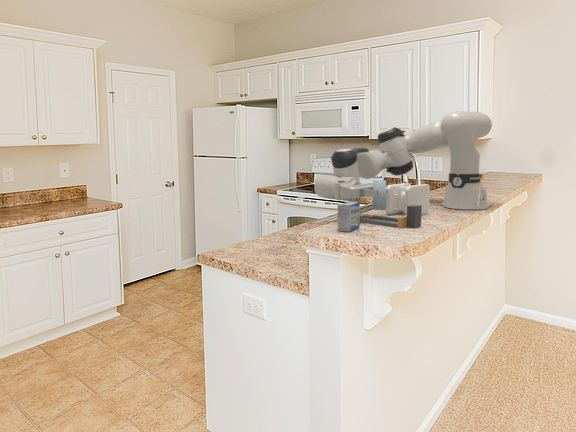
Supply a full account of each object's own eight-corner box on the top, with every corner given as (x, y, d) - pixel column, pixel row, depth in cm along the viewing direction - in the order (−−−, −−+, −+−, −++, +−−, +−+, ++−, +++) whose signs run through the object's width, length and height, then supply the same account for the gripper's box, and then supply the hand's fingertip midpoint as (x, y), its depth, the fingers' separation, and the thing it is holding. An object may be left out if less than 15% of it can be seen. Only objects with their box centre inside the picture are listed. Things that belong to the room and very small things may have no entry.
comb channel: (375, 218, 170) (375, 199, 169) (425, 225, 156) (426, 204, 155) (358, 221, 163) (358, 202, 162) (409, 229, 149) (410, 207, 148)
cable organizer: (406, 218, 169) (407, 186, 167) (383, 215, 177) (384, 184, 175) (429, 213, 179) (430, 183, 177) (406, 210, 187) (407, 182, 185)
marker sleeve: (377, 207, 165) (378, 179, 164) (388, 208, 162) (388, 180, 161) (370, 209, 162) (370, 180, 161) (380, 210, 159) (381, 181, 158)
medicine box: (349, 232, 146) (350, 205, 144) (337, 231, 148) (337, 204, 147) (359, 228, 152) (360, 202, 151) (347, 226, 155) (347, 201, 153)
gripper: (366, 194, 178) (397, 198, 168) (332, 200, 164) (364, 204, 154) (367, 178, 177) (398, 180, 167) (332, 182, 163) (364, 185, 153)
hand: (381, 192), depth 161 cm, fingers closed on marker sleeve, 4 cm apart
